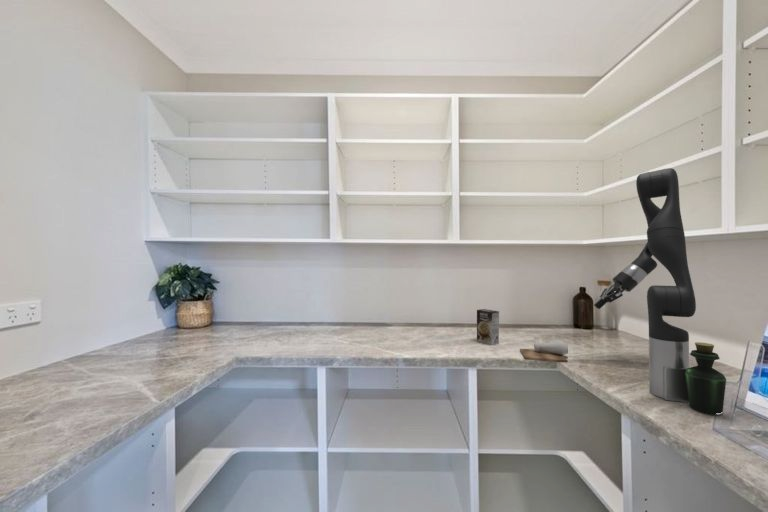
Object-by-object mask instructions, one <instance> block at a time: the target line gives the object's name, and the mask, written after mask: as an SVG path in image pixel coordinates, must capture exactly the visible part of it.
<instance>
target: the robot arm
mask: <svg viewBox="0 0 768 512" xmlns="http://www.w3.org/2000/svg"><path fill="white" fill-rule="evenodd" d="M635 182H636V183H635V184H636V192H637V196H638V199H639V203H640V205H641V208H642V211H643V213H644V216H645V219H646V224H647V230H646V237H647V241H646V244H645V246H644V247H643V249H642V251H641V252H640V253H639V254H638V256H637V257H636V258H635V259H634V260H633V261H632V262H631V263H630V264H629V265H627V266H626V267H624V268H623V269H621V271H619V272H618V273H617V274H616V275H615V276H614V277H613V278H612V282H613V283H614V284H612V285H609V286H608V288H604V289H603V290H602V293H601V294H600V296H599V298H600V299H599V300H598V301H596V302H595V303H594V304H593V306H594V307H595V308H596V309H597V310H598V309H599V310H600V309H601V308H602V307H604V306H605V305H606V304H609V303H612V302H614V301H616V300H617V299H620V298H621V297H623V295H624V294H623V293H624V292H629V293H630V292H631V291H632V290H634V289H635V288H636V287H637V286H638V285H639V284H641V282H643V281H644V280H645V278H646V277H647V276H649V274H651V273H652V272H653V271H654V270H655V269H656V268H657V267H658V262H659V263H660V264H661V265H662V266H663V267H664V268H665V269H666V270H667V271H668V273H670V276H671V277H672V279H673V281H674V284H675V285H657V284H656V285H651V286H649V287H648V289H647V291H646V293H647V294H646V304H647V313H648V314H647V316H648V317H647V319H648V366H649V367H648V376H649V377H648V383H649V393H650V394H651V395H654V396H656V397H659V398H662V399H663V400H666V401H671V402H673V401H675V402H684V403H689V399H688V391H687V384H686V376H685V371H686V370H687V368H690V334H689V332H688V331H687V330H685V329H684V328H680V327H677V326H675V325H672V324H669V323H668V322H667V321H665V320H664V318H663V317H677V318H678V317H679V318H690V317H694V316H695V314H696V310H697V309H696V307H697V304H696V303H697V302H696V296H695V291H694V288H693V282H692V278H691V274H690V270H689V263H688V255H687V245H686V236H685V230H684V229H685V228H684V225H683V219H682V218H683V217H682V214H681V213H682V212H681V204H680V203H681V202H680V187H679V176H678V173H677V171H676V169H675V168H672V167H671V168H670V167H669V168H662V169H658V170H653V171H647V172H643V173H640V174H638V175H637V176H636V181H635ZM663 197H665V201H664V203H663V205H662V207H661V208H660V207H659V206H658V205H656V204H655V203H654V202H653V200H652V199H654V198H663ZM653 257H654V258H655V259H656V260H657V261H658V262H657V261H656V260H655V259H654V258H653Z"/></svg>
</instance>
